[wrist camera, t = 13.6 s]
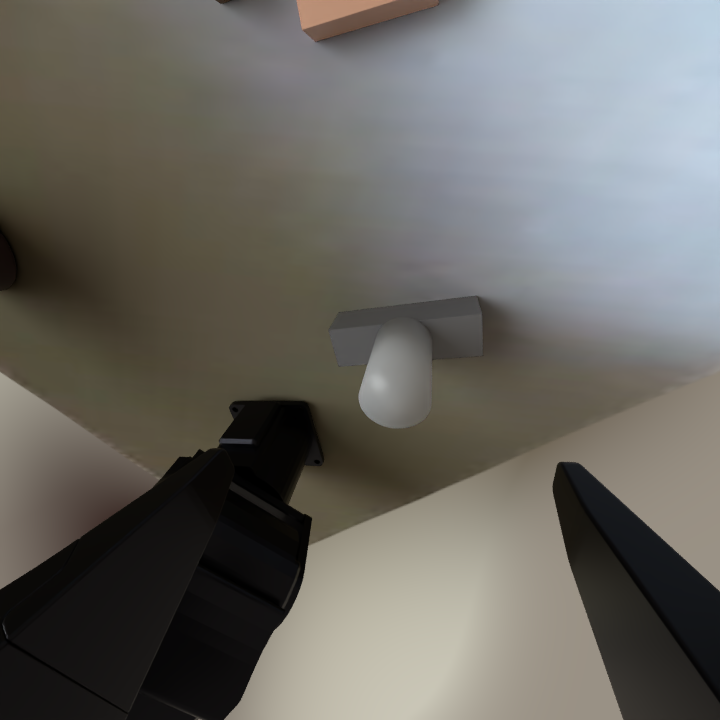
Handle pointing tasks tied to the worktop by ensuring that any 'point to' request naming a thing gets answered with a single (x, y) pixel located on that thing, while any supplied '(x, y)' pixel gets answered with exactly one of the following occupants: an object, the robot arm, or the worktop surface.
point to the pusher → (405, 352)
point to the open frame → (222, 1)
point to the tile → (352, 14)
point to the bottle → (6, 265)
